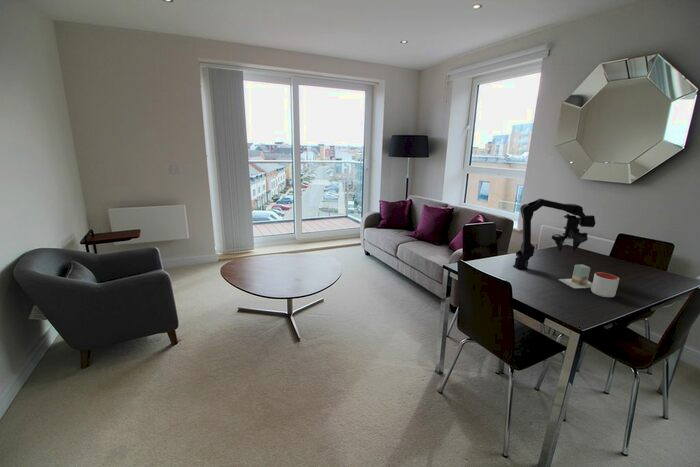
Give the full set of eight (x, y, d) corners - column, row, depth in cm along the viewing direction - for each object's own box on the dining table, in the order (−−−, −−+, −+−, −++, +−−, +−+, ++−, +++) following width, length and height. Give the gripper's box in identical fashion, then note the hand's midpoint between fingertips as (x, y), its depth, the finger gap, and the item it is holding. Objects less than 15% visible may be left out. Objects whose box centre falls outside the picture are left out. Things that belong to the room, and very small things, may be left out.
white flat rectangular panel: (574, 288, 171) (574, 288, 171) (557, 279, 183) (557, 279, 183) (601, 287, 173) (601, 287, 173) (583, 279, 184) (583, 278, 184)
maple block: (578, 285, 175) (580, 276, 174) (571, 281, 180) (573, 273, 179) (586, 284, 176) (588, 276, 174) (579, 281, 180) (581, 272, 179)
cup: (610, 291, 169) (614, 273, 166) (618, 299, 160) (623, 281, 157) (587, 288, 172) (591, 271, 169) (594, 296, 163) (598, 278, 160)
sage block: (580, 276, 174) (582, 268, 172) (573, 273, 178) (574, 264, 177) (588, 276, 174) (590, 267, 173) (581, 273, 179) (583, 264, 178)
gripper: (567, 229, 178) (562, 256, 182) (598, 229, 180) (592, 255, 185) (553, 224, 189) (548, 250, 193) (582, 224, 191) (577, 249, 195)
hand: (566, 251), depth 191 cm, fingers open, 9 cm apart
